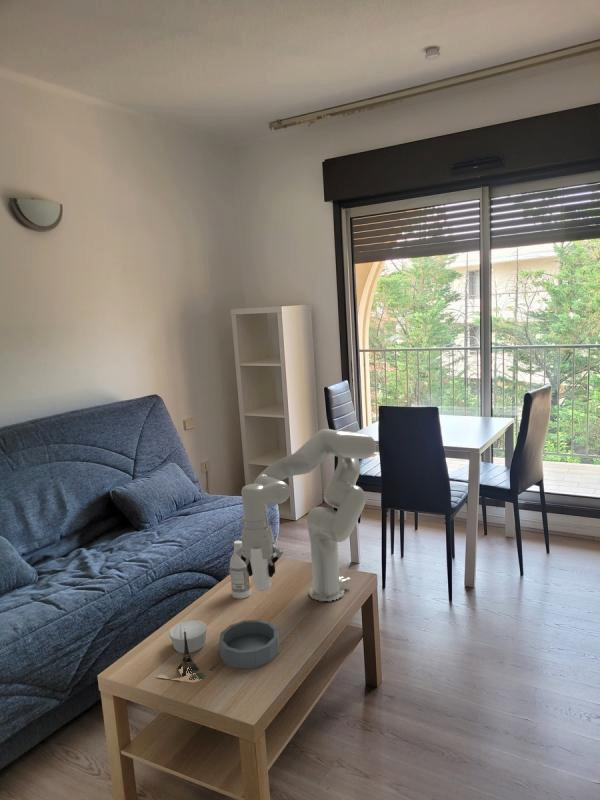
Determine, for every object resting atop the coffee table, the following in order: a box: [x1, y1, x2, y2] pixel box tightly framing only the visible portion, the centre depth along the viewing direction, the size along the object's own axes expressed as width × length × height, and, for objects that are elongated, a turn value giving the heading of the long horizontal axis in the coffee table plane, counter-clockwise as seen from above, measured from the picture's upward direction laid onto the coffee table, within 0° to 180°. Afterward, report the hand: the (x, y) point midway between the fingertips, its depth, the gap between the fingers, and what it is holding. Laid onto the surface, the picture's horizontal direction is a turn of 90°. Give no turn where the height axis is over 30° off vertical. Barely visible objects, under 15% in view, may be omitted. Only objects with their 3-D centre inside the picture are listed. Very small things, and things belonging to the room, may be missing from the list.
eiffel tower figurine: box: [176, 628, 218, 681], centre depth 165 cm, size 15×10×13 cm
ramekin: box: [169, 619, 208, 654], centre depth 178 cm, size 11×11×5 cm
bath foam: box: [229, 540, 252, 599], centre depth 208 cm, size 7×7×20 cm
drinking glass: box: [250, 548, 272, 592], centre depth 188 cm, size 7×7×15 cm
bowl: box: [218, 619, 280, 670], centre depth 173 cm, size 17×17×5 cm
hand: (261, 574), depth 188 cm, fingers closed on drinking glass, 6 cm apart
